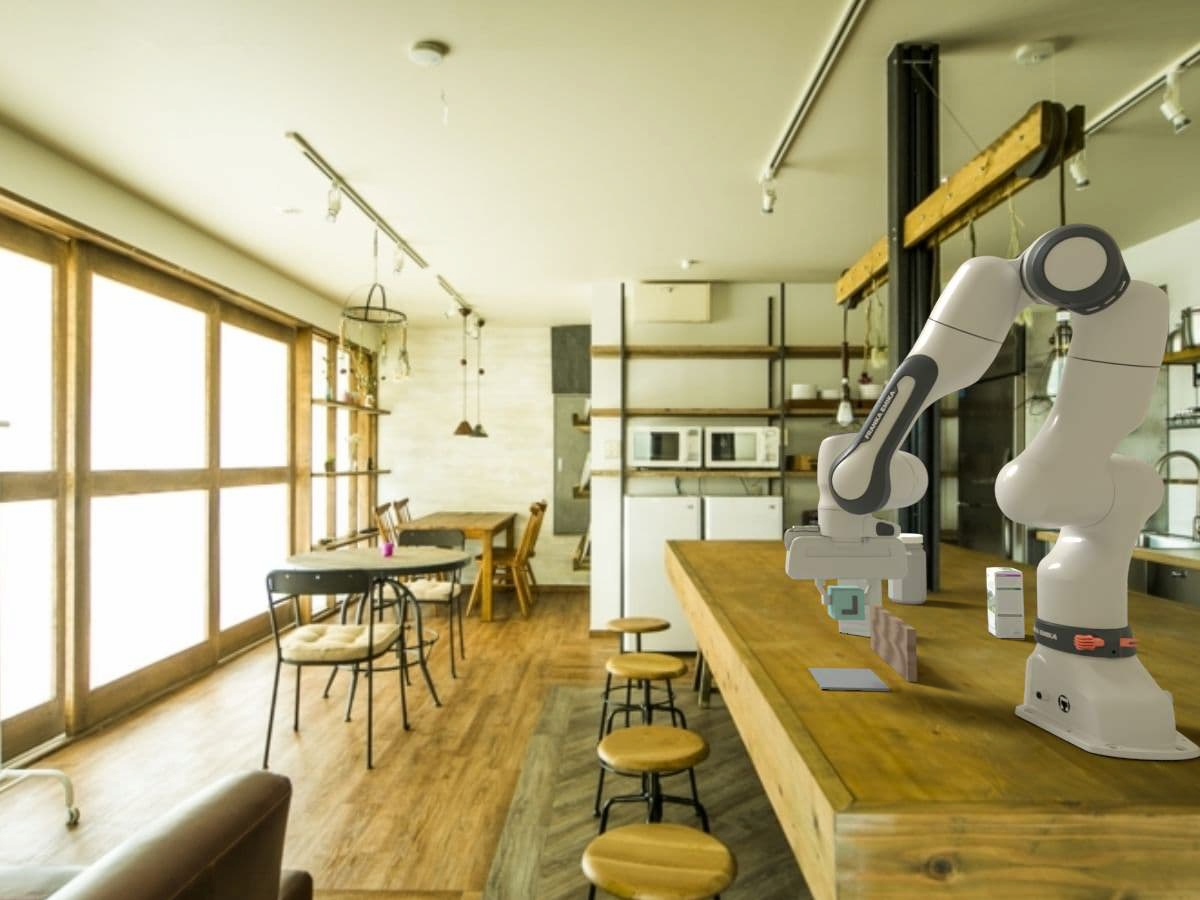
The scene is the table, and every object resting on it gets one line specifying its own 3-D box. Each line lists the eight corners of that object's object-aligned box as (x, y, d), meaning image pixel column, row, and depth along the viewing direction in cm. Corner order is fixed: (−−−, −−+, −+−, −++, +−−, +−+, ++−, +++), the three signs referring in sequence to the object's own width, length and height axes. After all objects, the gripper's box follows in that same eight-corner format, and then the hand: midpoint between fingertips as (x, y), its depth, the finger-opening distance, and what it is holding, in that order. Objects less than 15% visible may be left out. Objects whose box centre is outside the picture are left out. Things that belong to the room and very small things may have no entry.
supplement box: (883, 631, 158) (882, 575, 159) (870, 638, 153) (869, 579, 153) (851, 626, 163) (850, 571, 164) (837, 632, 158) (836, 575, 158)
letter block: (865, 620, 121) (864, 591, 121) (834, 620, 121) (834, 591, 121) (856, 614, 126) (856, 585, 126) (827, 613, 126) (827, 585, 126)
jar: (892, 604, 188) (891, 536, 188) (884, 597, 198) (883, 532, 198) (932, 605, 186) (930, 536, 187) (921, 598, 196) (920, 533, 196)
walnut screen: (916, 681, 122) (915, 629, 123) (907, 681, 122) (906, 629, 123) (878, 648, 144) (877, 604, 144) (870, 648, 144) (870, 604, 145)
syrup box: (1025, 639, 150) (1024, 571, 150) (995, 638, 151) (994, 570, 152) (1015, 633, 156) (1014, 567, 156) (986, 632, 157) (985, 566, 157)
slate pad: (889, 691, 117) (889, 688, 117) (821, 690, 118) (821, 687, 118) (870, 671, 128) (870, 669, 128) (808, 670, 129) (808, 668, 129)
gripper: (787, 527, 122) (788, 608, 121) (910, 526, 120) (911, 608, 120) (780, 523, 128) (782, 600, 128) (898, 523, 126) (899, 601, 126)
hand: (845, 604), depth 124 cm, fingers closed on letter block, 5 cm apart
